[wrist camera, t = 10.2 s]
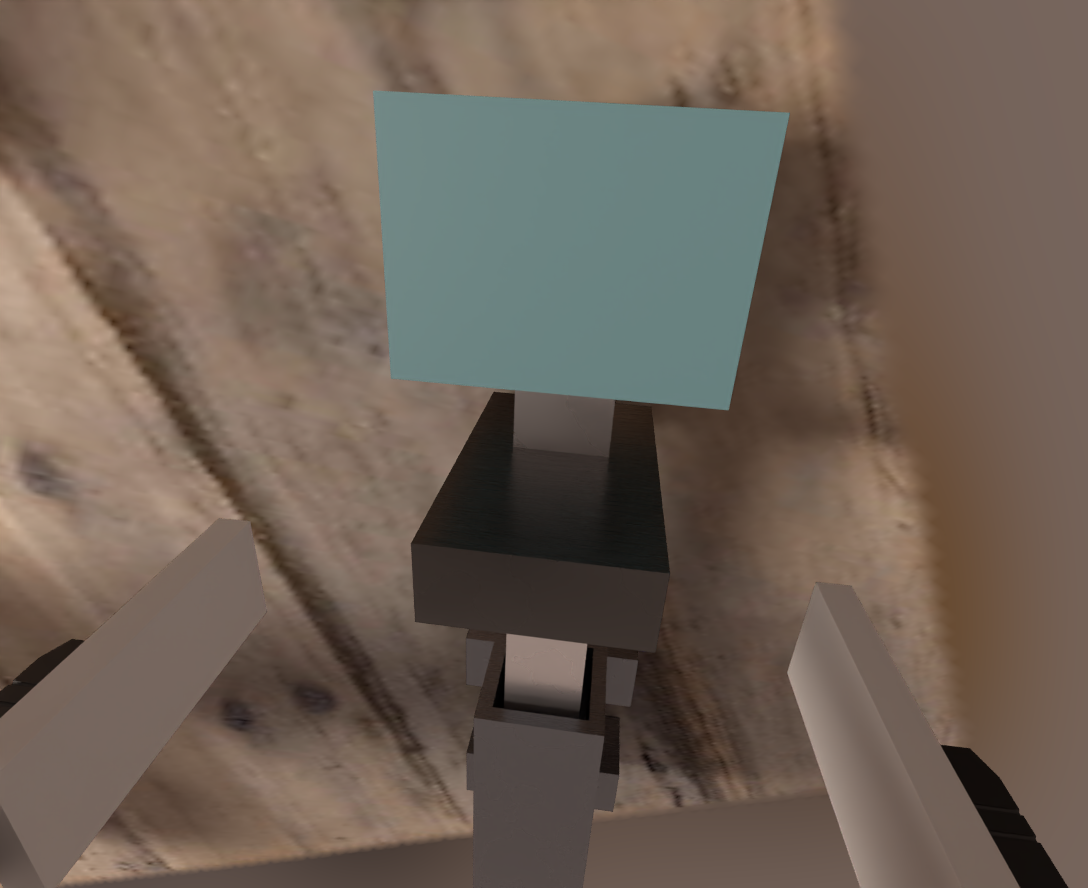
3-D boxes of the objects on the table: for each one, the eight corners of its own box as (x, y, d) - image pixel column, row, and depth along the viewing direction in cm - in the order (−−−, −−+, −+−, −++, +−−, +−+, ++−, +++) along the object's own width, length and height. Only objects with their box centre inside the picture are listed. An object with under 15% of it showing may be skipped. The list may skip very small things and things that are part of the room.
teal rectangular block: (684, 303, 24) (728, 410, 14) (485, 287, 24) (390, 378, 14) (711, 132, 21) (789, 113, 11) (486, 119, 22) (373, 91, 12)
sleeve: (612, 764, 36) (608, 929, 28) (480, 745, 36) (442, 901, 29) (639, 593, 30) (644, 742, 22) (482, 574, 31) (435, 712, 23)
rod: (603, 737, 30) (595, 979, 22) (487, 720, 31) (432, 951, 22) (679, 213, 19) (726, 263, 11) (497, 201, 20) (394, 239, 11)
